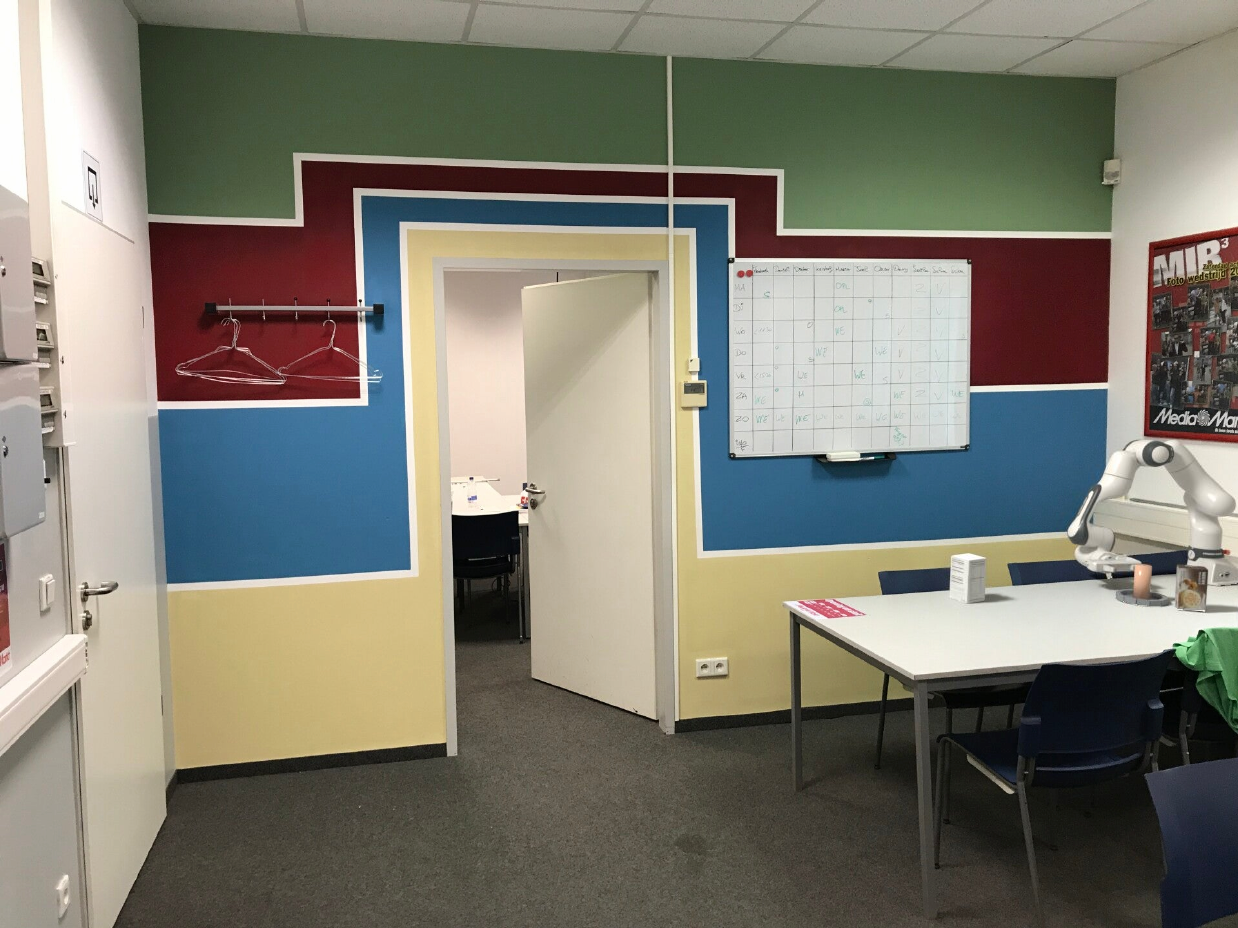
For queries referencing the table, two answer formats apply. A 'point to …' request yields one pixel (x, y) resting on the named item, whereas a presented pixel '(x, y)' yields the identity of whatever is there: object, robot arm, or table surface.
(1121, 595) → the tray
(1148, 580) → the peach cylinder
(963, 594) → the supplement box
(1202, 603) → the coffee box
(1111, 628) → the table surface
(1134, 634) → the table surface
